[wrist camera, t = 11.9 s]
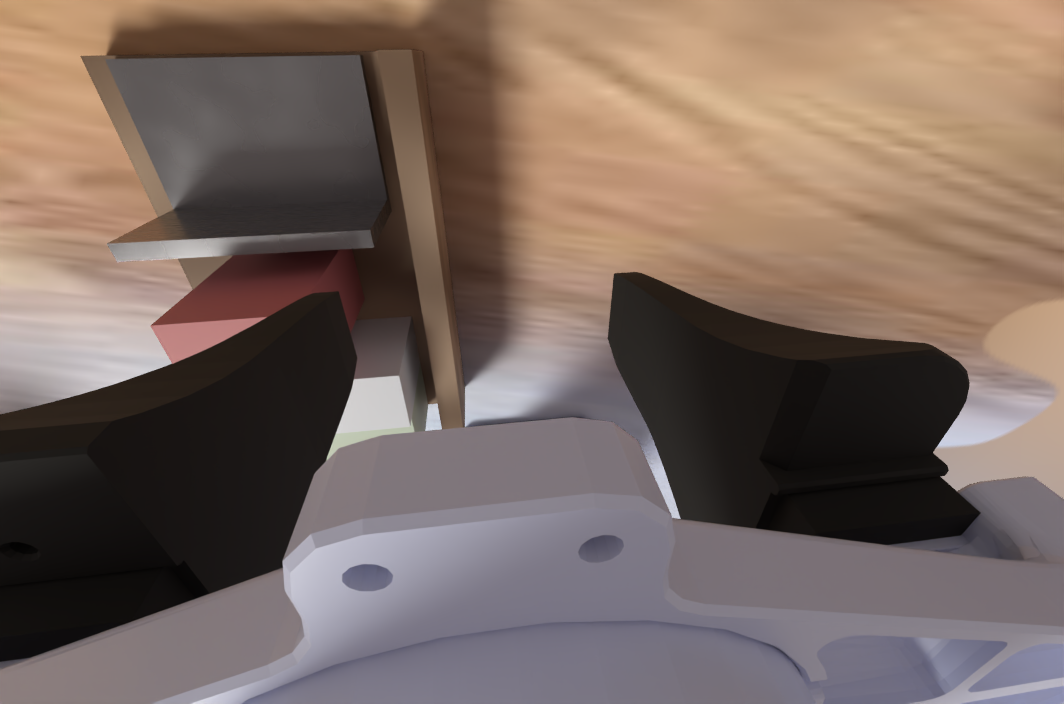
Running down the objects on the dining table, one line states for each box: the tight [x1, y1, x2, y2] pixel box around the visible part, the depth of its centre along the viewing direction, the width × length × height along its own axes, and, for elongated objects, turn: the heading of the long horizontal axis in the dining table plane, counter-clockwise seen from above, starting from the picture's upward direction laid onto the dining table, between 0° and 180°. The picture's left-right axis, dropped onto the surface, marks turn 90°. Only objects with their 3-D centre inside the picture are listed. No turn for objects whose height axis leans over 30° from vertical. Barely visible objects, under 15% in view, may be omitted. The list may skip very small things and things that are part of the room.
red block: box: [151, 249, 365, 364], centre depth 17 cm, size 3×4×7 cm
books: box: [326, 316, 428, 461], centre depth 20 cm, size 6×8×5 cm
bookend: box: [105, 55, 392, 262], centre depth 15 cm, size 5×8×4 cm
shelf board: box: [81, 49, 465, 429], centre depth 19 cm, size 16×11×4 cm
